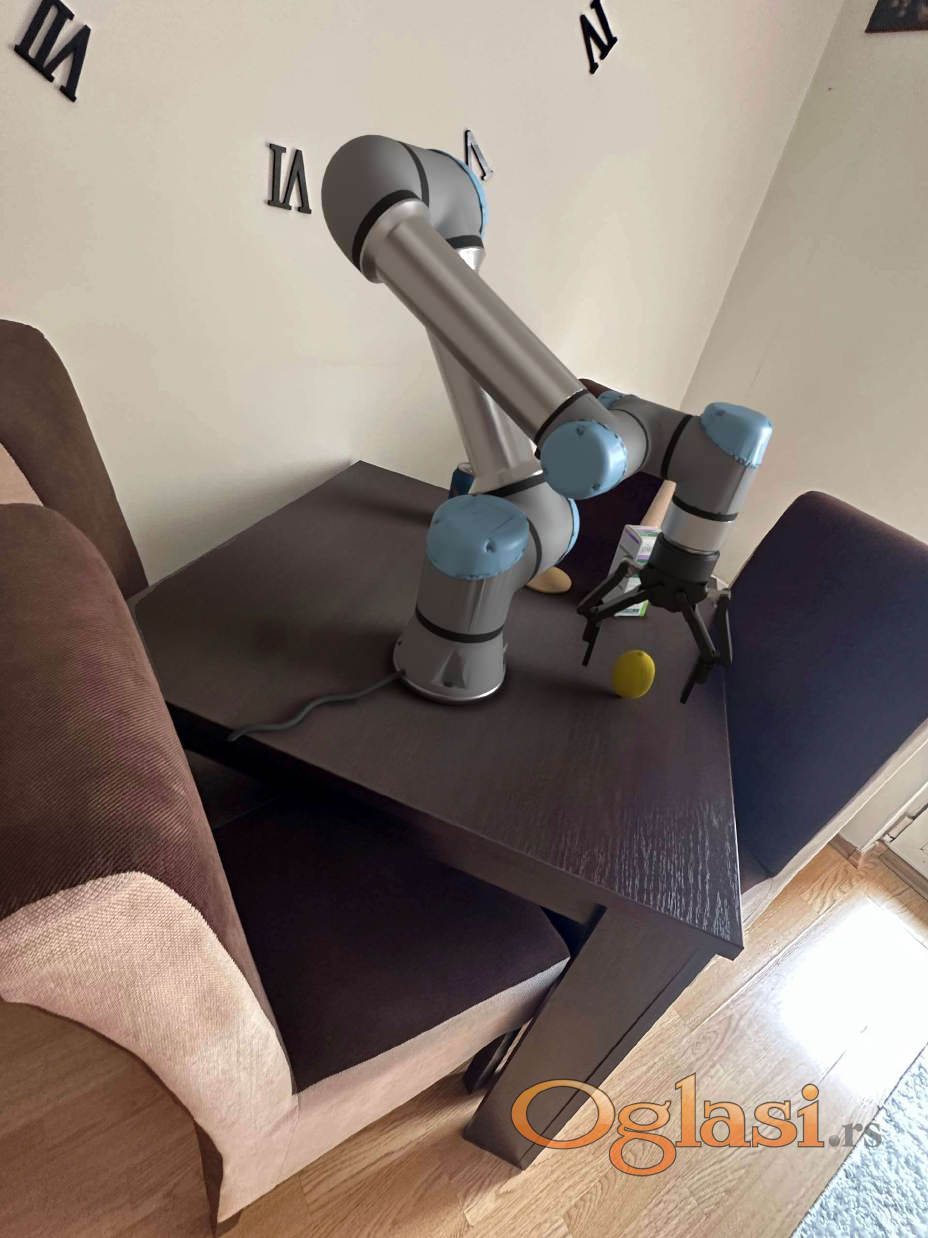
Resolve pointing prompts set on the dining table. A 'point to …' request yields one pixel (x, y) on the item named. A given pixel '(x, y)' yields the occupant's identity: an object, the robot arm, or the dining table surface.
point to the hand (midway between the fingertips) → (633, 679)
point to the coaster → (550, 581)
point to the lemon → (632, 674)
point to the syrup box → (639, 549)
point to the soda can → (461, 480)
